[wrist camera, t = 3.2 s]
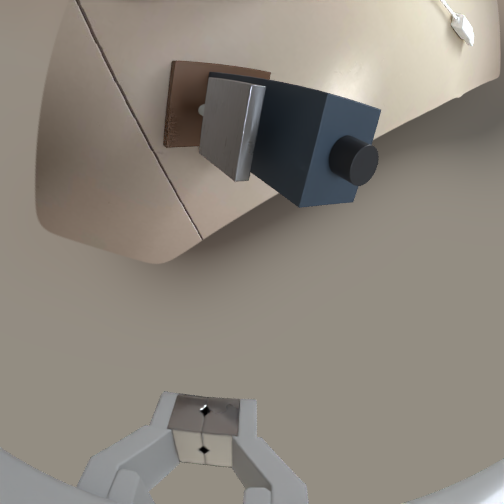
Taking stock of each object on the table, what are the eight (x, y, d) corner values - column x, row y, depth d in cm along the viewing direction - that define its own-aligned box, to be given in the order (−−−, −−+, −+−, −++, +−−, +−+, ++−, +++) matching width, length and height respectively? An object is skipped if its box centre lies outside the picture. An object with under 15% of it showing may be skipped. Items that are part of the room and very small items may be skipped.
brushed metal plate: (198, 152, 25) (234, 181, 20) (208, 77, 21) (251, 84, 16) (210, 152, 25) (249, 181, 21) (221, 78, 21) (266, 86, 17)
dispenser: (163, 145, 31) (263, 246, 17) (172, 60, 25) (302, 66, 11) (252, 143, 37) (380, 222, 23) (265, 71, 31) (418, 111, 17)
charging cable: (410, -37, 26) (424, -37, 23) (467, 31, 42) (477, 34, 40) (408, -22, 28) (422, -21, 26) (464, 45, 45) (475, 48, 43)
